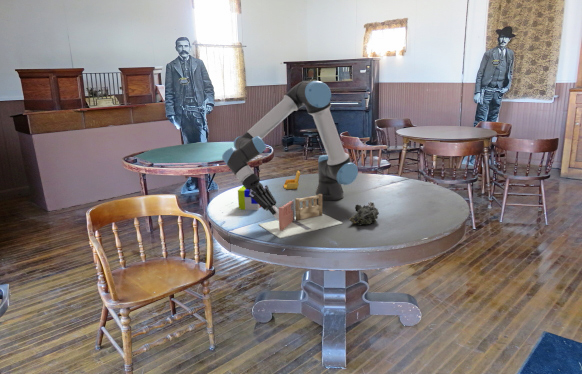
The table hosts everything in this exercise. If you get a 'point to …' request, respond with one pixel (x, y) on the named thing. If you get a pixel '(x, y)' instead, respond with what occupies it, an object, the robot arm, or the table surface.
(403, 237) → the table surface
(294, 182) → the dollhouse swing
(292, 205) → the hinged fence half
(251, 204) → the puzzle toy
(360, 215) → the mineral specimen
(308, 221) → the card
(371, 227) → the table surface
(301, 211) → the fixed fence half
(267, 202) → the robot arm
